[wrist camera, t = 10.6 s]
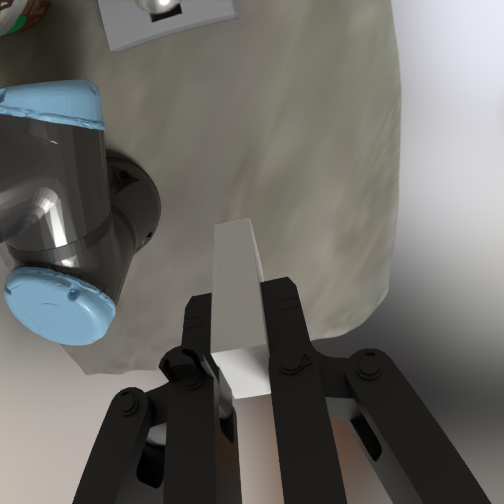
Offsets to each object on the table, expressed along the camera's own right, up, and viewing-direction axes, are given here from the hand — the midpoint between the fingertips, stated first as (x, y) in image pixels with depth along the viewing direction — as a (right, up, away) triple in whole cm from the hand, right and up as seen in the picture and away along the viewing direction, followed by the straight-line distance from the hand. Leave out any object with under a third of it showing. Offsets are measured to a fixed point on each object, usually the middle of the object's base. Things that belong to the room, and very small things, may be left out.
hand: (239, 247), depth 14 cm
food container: (-31, +32, +11) cm, 46 cm away
